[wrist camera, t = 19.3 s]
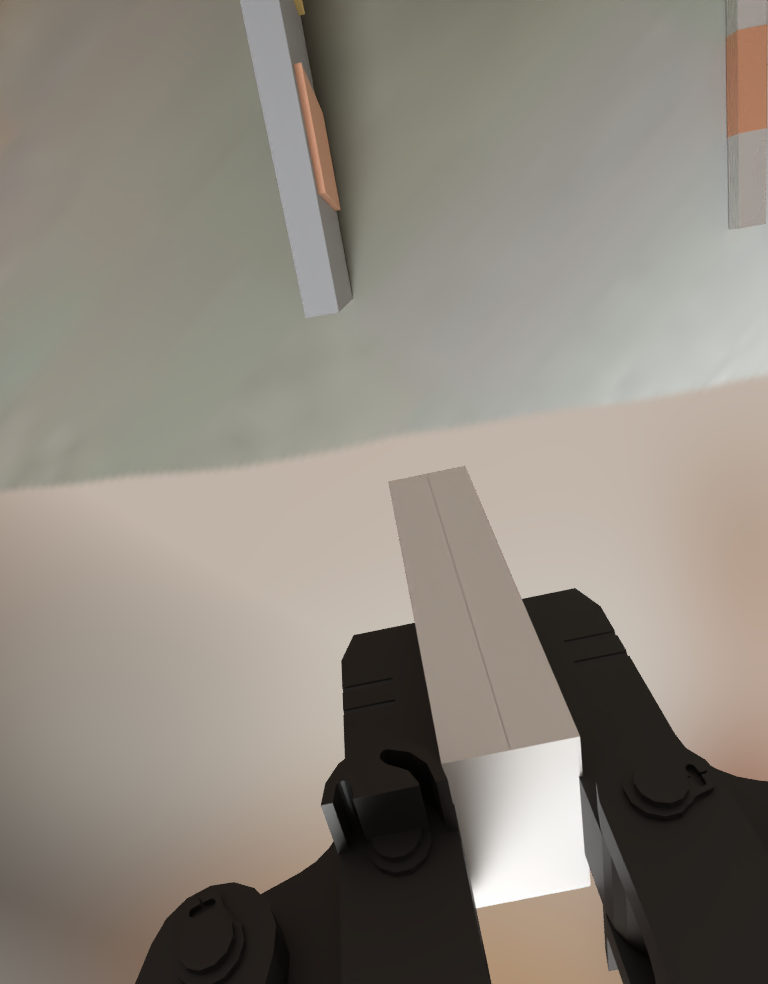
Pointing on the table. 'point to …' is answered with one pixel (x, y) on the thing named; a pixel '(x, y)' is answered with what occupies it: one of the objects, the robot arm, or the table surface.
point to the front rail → (746, 111)
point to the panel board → (299, 152)
